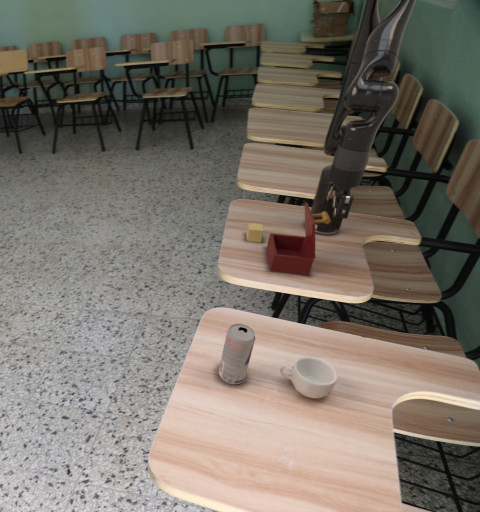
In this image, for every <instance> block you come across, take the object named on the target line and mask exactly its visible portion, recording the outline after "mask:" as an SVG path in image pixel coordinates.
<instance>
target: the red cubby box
mask: <svg viewBox="0 0 480 512" xmlns="http://www.w3.org/2000/svg"><path fill="white" fill-rule="evenodd" d="M267 240H268V241H267V244H266V254H267V259H268V265H269V270H270V272H275V273H284V274H293V275H298V276H299V275H301V276H309V275H310V272H311V269H312V265H313V263H314V258H312V255H311V252H310V249H309V246H308V243H307V239H306V236H301V235H290V234H282V233H273V232H270V233H269V236H268V239H267Z"/></svg>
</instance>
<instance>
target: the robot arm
mask: <svg viewBox="0 0 480 512" xmlns="http://www.w3.org/2000/svg"><path fill="white" fill-rule="evenodd" d="M416 1H417V0H400V1H399V2H398V4H397V5H396V6H395V7H394V9H392V11H391V12H390V13H389V14H387V16H386V17H384V18H383V20H382V21H381V18H380V13H379V0H364V2H363V5H362V10H361V13H360V19H359V23H358V27H357V30H356V34H355V36H354V39H353V43H352V47H351V51H350V53H349V57H348V60H347V62H346V63H347V64H346V68H345V71H344V74H343V79H342V83H341V88H340V91H339V96H338V99H337V103H336V106H335V109H334V112H333V115H332V117H331V121H330V124H329V127H328V129H327V133H326V135H325V139H324V143H323V153H324V155H326V156H327V157H328V156H329V157H333V160H332V162H331V164H328V165H326V166H324V167H323V168H322V170H321V172H320V176H319V179H318V183H317V187H316V190H315V194H314V197H313V201H312V204H311V207H310V211H311V214H320V213H322V212H324V211H326V212H327V213H328V215H329V218H330V220H331V222H330V223H329V224H325V223H315V234H319V235H324V236H330V235H334V234H336V233H338V231H339V230H340V228H341V225H342V222H343V220H345V219H346V220H347V219H348V217H349V214H350V211H351V208H352V203H353V201H354V196H353V195H352V191H351V189H352V188H354V187H358V186H360V185H361V183H362V180H363V177H364V174H365V171H366V169H367V166H368V163H369V159H370V153H371V150H372V146H373V144H374V141H375V138H376V135H377V133H378V130H379V129H380V126H381V125H382V124H383V122H384V120H385V119H386V118H387V116H388V114H389V113H390V112H391V111H392V109H393V108H394V106H395V104H396V103H397V101H398V99H399V94H400V89H399V86H398V84H396V82H394V81H388V80H383V78H384V77H387V76H389V75H391V74H392V73H393V72H394V71H395V68H396V65H397V62H398V58H399V53H400V49H401V44H402V40H403V37H404V34H405V31H406V28H407V25H408V23H409V20H410V18H411V16H412V13H413V10H414V7H415V4H416ZM351 112H358V113H368V114H371V115H369V117H367V118H364V119H355V120H350V121H347V122H346V123H345V124H343V123H344V121H345V120H346V118H347V117H348V116H349V114H350V113H351ZM313 219H314V220H320V219H323V218H322V217H313Z"/></svg>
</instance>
